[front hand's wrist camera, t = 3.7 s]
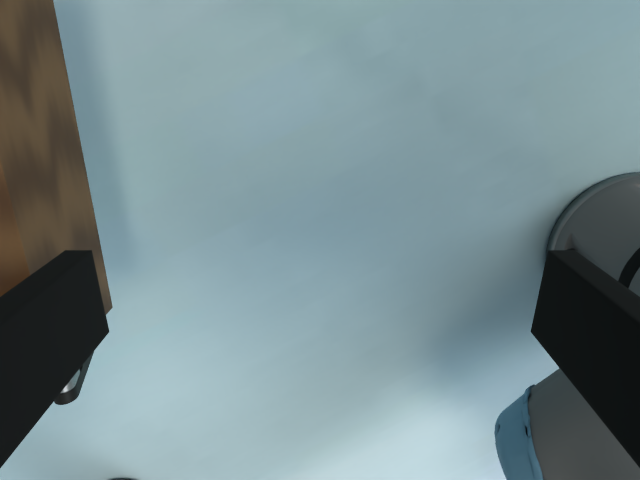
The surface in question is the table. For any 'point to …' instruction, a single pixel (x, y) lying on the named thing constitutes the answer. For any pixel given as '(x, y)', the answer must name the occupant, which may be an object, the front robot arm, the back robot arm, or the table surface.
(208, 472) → the table surface
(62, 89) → the bar
